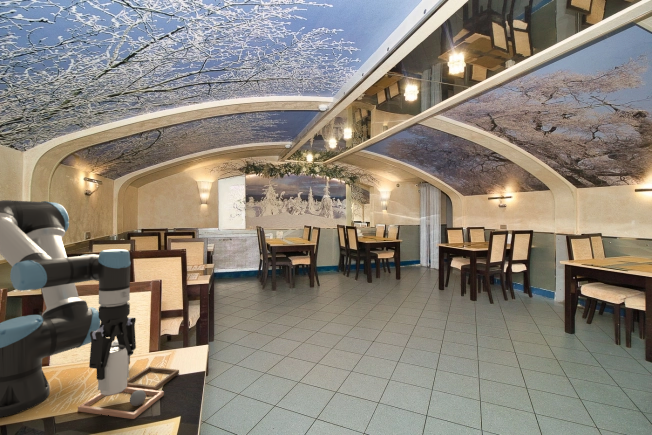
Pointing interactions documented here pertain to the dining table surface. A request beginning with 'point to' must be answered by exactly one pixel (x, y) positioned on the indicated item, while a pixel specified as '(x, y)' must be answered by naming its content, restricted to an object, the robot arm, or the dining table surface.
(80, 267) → the robot arm
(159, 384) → the brown square frame
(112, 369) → the can
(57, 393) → the dining table surface
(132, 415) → the open picture frame
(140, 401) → the ball
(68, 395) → the dining table surface
